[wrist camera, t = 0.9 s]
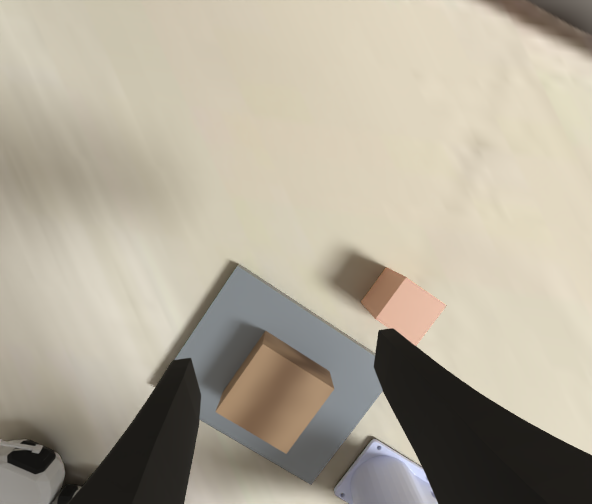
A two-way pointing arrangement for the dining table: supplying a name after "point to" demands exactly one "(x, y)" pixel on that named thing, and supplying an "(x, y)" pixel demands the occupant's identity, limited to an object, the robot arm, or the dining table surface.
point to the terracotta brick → (402, 305)
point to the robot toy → (32, 474)
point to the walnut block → (275, 392)
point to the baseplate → (299, 335)
